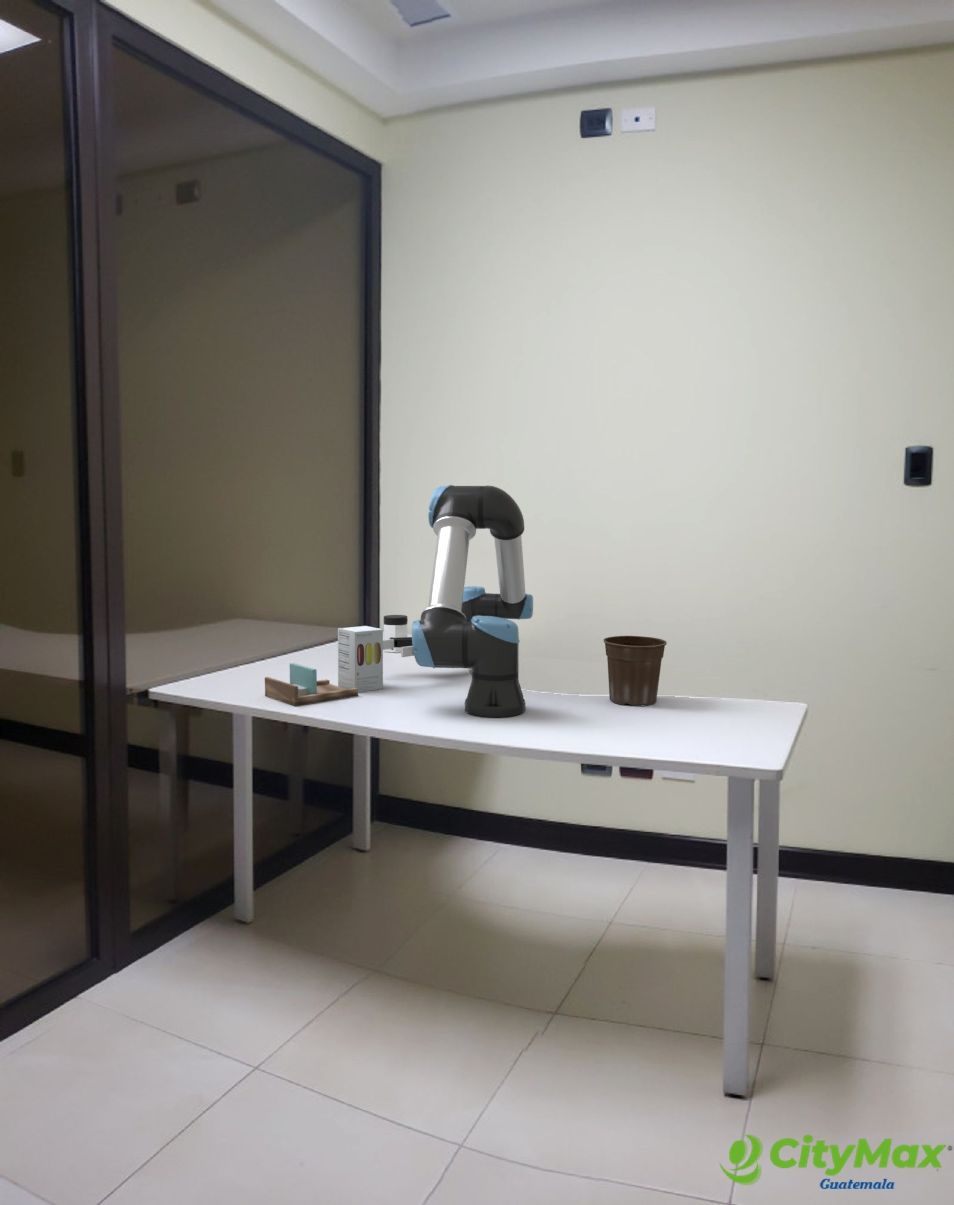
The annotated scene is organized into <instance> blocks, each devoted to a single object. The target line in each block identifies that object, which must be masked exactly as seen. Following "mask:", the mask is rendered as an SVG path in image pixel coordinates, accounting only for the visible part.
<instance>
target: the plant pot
mask: <svg viewBox="0 0 954 1205" xmlns="http://www.w3.org/2000/svg"><path fill="white" fill-rule="evenodd" d="M667 642H668V641H667V640H664V639H663V638H662V639H661V638H659V637H652V636H643V635H642V636H641V635H640V636H639V635H614V636H608V637H605V638H604V639H603V643H604V648H605V656H606V657H607V658H606V659H607V661H606V662H607V674H608V676H607V677H608V690H609V691H608V692H609V694H608V695H609V696H608V697H609V701H611V702H612V703H614V704H618V705H623V706H625V705H627V704H628V705H630V706H634V707H635V706H637V707H638V706H639V707H642V706H641V705H646V706H650V704H651V705H654V704H655V703H656V702H657V700H658V691H659V690H658V689H659V681H660V676H661V675H660V674H661V667H662V660H663V658H664V656H665V655H664V653H665V649H666V648H665V647H666V645H667V644H668V643H667ZM653 703H654V704H653Z"/></svg>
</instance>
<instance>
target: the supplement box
mask: <svg viewBox="0 0 954 1205" xmlns="http://www.w3.org/2000/svg"><path fill="white" fill-rule="evenodd" d="M383 640H384V628H383V629H382V628H378V627H373V626H369V625H361V626H351V627H338V628H337V686H339V687H342V688H345V689H350V688H358V693H363V692H368V691H371V692H372V691H375V690H377V691H378V690H383V689H384V650H383Z"/></svg>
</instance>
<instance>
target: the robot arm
mask: <svg viewBox="0 0 954 1205" xmlns="http://www.w3.org/2000/svg"><path fill="white" fill-rule="evenodd" d="M427 515H428V516H427V517H428V523H429V526H430V527H431V528H432V530H433V532H434V534H435V535H436V536H437V538H436V546H435V553H434V560H433V570H432V575H431V576H432V577H431V583H430V590H429V597H428V598H429V599H428V606H427V608H425V609H424V610H422V612H421V615H420V619H416V620H413V621H412V624H411V636H407V637H398V638H392V637H391V638H390V639H388V640H384V639H383V651H384V650H386V649H391V650H393V649H394V647H401V654H400V655H401V658H406V657H407V658H409V657H414V659H415V662H416V664H417V665H418V666H420V667H422V668H423V667H424V668H432V669H438V668H439V669H471V682H470V685H469V688H468V692H467V696H466V698H465V701H464V711H465V713H466V714H470V715H471V716H473V715H474V716H476V717H485V718H506V717H507V718H509V717H515V716H519V715H522V714H525V712H526V701H525V698H524V695H523V694H524V693H523V691H522V687H521V684H520V681H519V672H520V671H519V669H520V668H519V666H520V664H519V654H520V653H519V651H520V650H519V649H520V648H519V645H520V642H521V641H520V636H519V633H520V632H519V627H518V624H517V623H516V622H514V621H513V620H529V619H531V618H532V617H533V615H534V596H533V595H532V594H529V593H526V580H525V568H524V566H525V565H524V552H523V542H522V541H523V540H522V535H523V534H524V532H525V521H524V520H525V518H524V515H523V513H522V510H521V508H520V506H519V505H518V503H517V502H516V500H515V499H514V498H513V497H512V496H511V495H510V494H509V493H508V492H506V491H505V490H503V489H502V488H500V487H497V486H494V485H453V484H449V485H441V486H438V487H435V489H434V490H433V491H432V494H431V495H430V500H429V504H428V514H427ZM482 529H484V530H485V529H488V530H489V532H490V535H491V536H492V537H493V539H494V548H495V555H496V556H495V557H496V566H497V575H498V586H499V588H498V589H499V593H488V592H487V593H486V589H485V588H484V587H483V586H475V585H474V586H473V585H471V586H465V585H466V584H465V582H466V574H467V565H468V556H469V548H470V547H469V546H470V540H472V539H474V538H475V536H476V534H477V530H482Z"/></svg>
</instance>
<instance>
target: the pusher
mask: <svg viewBox="0 0 954 1205" xmlns="http://www.w3.org/2000/svg"><path fill="white" fill-rule="evenodd" d="M317 671H318V670H317V669H316V668H313V667H309V666H305V665H302V664H298V663H294V662H290V663H289V684H292V685H295V686H298V696H304V695H312V694H317V681H318V680H317V678H318V677H317Z"/></svg>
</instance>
